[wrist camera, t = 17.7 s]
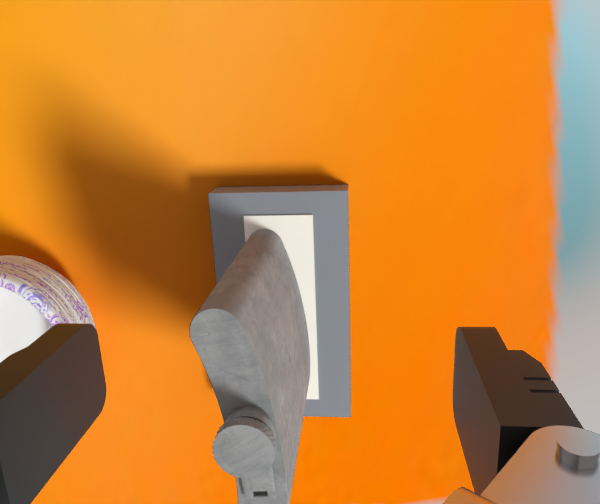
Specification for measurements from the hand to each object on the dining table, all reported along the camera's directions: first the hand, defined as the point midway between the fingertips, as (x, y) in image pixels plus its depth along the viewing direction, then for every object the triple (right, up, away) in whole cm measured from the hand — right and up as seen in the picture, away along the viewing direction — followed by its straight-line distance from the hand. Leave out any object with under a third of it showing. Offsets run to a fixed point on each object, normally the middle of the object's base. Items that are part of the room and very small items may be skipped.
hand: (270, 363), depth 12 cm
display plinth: (-1, -2, +41) cm, 41 cm away
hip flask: (-1, -3, +38) cm, 38 cm away
